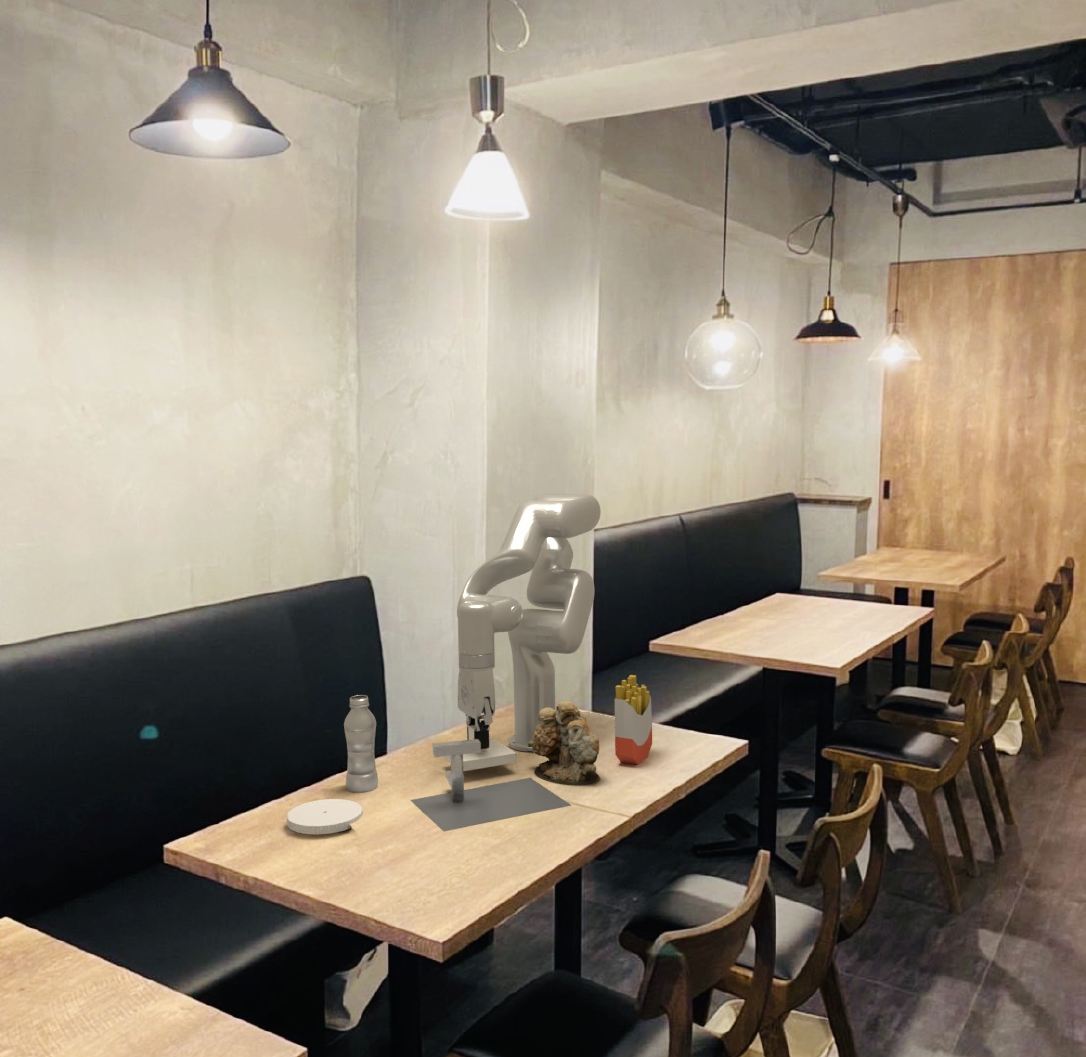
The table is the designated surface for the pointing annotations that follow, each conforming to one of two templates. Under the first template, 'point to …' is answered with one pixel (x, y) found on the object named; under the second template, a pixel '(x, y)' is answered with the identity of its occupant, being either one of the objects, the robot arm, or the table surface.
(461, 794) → the t key
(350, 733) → the plastic bottle
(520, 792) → the base
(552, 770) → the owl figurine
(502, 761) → the cover
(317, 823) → the plastic lid
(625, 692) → the french fries container
